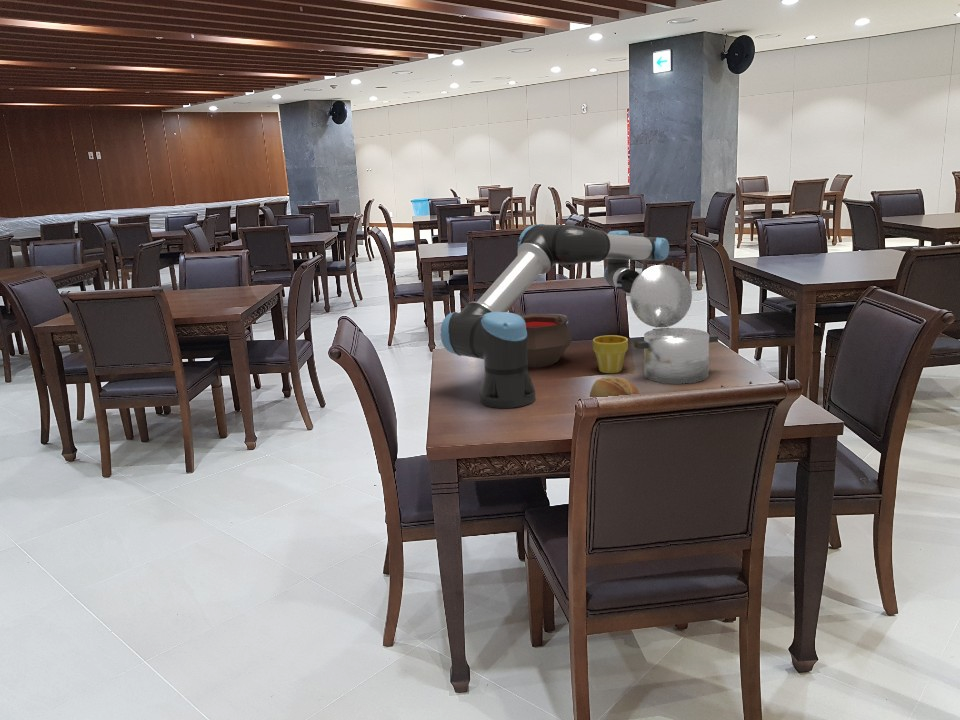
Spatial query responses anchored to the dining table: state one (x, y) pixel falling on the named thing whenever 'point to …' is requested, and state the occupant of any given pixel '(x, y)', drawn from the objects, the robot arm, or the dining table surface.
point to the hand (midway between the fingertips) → (654, 291)
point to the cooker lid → (661, 296)
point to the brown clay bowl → (545, 338)
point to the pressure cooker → (676, 354)
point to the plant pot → (610, 352)
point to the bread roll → (612, 387)
